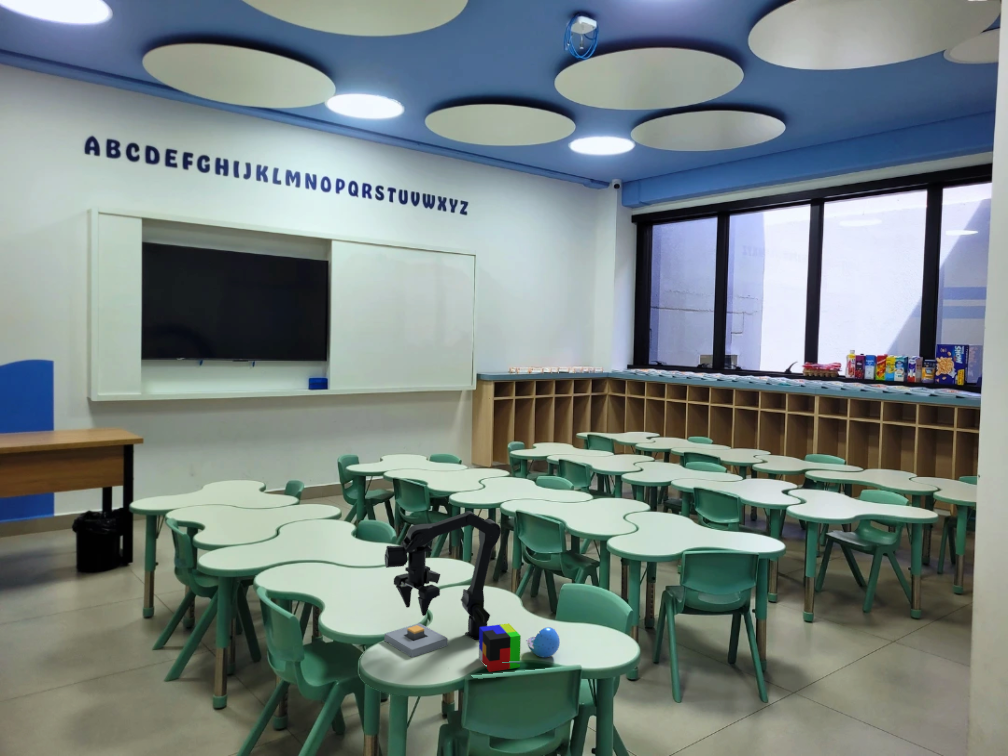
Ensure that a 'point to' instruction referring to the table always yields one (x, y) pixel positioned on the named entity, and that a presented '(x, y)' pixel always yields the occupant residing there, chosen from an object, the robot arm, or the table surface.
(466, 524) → the robot arm
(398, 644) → the plate
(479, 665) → the table surface
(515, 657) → the puzzle toy
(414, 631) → the orange-topped grey block
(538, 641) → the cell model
